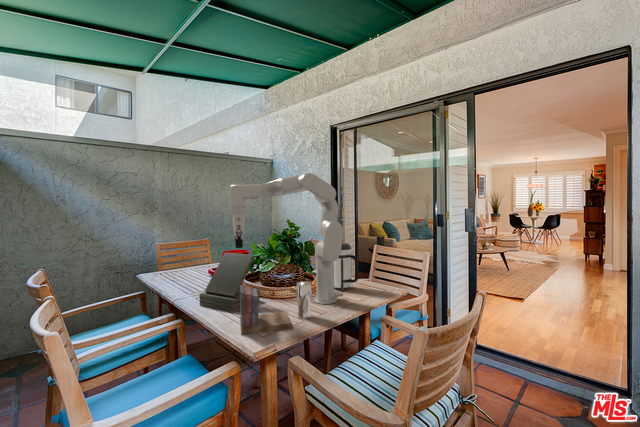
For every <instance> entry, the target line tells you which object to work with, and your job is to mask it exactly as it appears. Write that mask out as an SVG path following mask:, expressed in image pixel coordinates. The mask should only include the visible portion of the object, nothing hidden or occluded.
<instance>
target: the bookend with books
mask: <svg viewBox="0 0 640 427" xmlns="http://www.w3.org/2000/svg"><path fill="white" fill-rule="evenodd" d="M243 287H244V285H243V284H242V285H240V314H239V315H240V316H239V323H240V335H246V334H247V335H249V334H255V333H256V334H257V333H262V332H269V331H270V332H272V331H279V330H285V329H286V330H287V329H292V328H293V327H292V324H293V323H292V322H291V320H290V318H289V316H288V313H287V312H286V311H279V312H278V311H277V312H271V313H261V314H259V301H258V294H257V291H256V289H257V288H253V289H252V290H250V288H251V287H247V288H243Z"/></svg>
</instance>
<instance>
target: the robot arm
mask: <svg viewBox="0 0 640 427" xmlns="http://www.w3.org/2000/svg"><path fill="white" fill-rule="evenodd" d="M306 191H308V192H310V193H311V194H313V197H314V199H315V200H316V201H317V202H318V203H319V204H320V207H321V216H320V223H319V234H320V235H321V236H322V237H323V240H320V241H318V242H317V243H316V245H315V248H314V255H315V256H314V258H315V270H316V271H315V276H316V279H315V282H316V284H315V286H316V291H315V292H316V296H314V297H313V302H314V303H316V304H320V305H331V304H334V303H336V302H338V297H343V296H344V292H341V291H335V287H334V261H335V260H337V259H338V257H339V256H340V252H341V246H342V243H343V241H342V240H343V238H344V229H343V226H342V224H341V223H340V221H338V219H339V218H338V215H339V205H338V202H337V200H336V197H337V191H336V188H334V187H333V185H331V184H329V183H328V182H326V181H325V180H324V179H322V178H320V177H319V176H318V175H315V174H314V173H311V172H306V173H302V174H298V175H293V176H287V177H282V178H278V179H275V180H272V181H269V182H265V183H258V184H256V183H254V184H231V185H230V186H229V214H230V215H232V226H233V235H235V239H234V240H235V242H234V244H235V249H243V246H244V244H243V243H244V242H243V240H244V239H243V235H246V229H245V228H246V227H245V226H246V224H245V223H246V222H245V221H246V220H245V214H246V215H247V200H250V201H257V200H261V199H266V198H272V197H282V196H287V195H291V194H296V193H302V192H306Z"/></svg>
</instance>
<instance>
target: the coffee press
mask: <svg viewBox="0 0 640 427" xmlns="http://www.w3.org/2000/svg"><path fill="white" fill-rule="evenodd" d="M343 241H344V240H343V239H342V246H341V252H340V256H339V257H338V259H337V260H335V261H334V289H340V292H343V293H344V289H347V288H351V289H354V286H353V284H354V283H356V282H358V281H359V273H360V272H359V268H360V267H359V260H358V257H357V256H355V255H353V254H352V246H351V244H349V243H347V242H343ZM352 259H353V260H354V269H355V270H354V272H355V273H354V279H352Z"/></svg>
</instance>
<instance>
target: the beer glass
mask: <svg viewBox="0 0 640 427" xmlns="http://www.w3.org/2000/svg"><path fill="white" fill-rule="evenodd" d="M295 289H296V291H295V295H296V301H297V302H296V303H297V309H298V310H297V317H298V319H303V320H304V319H309V318H311V317H312V314H311V302H312V297H313V296H312V295H313V294H312V291H313V290H312V283H311V281H298V282H296V288H295Z"/></svg>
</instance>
